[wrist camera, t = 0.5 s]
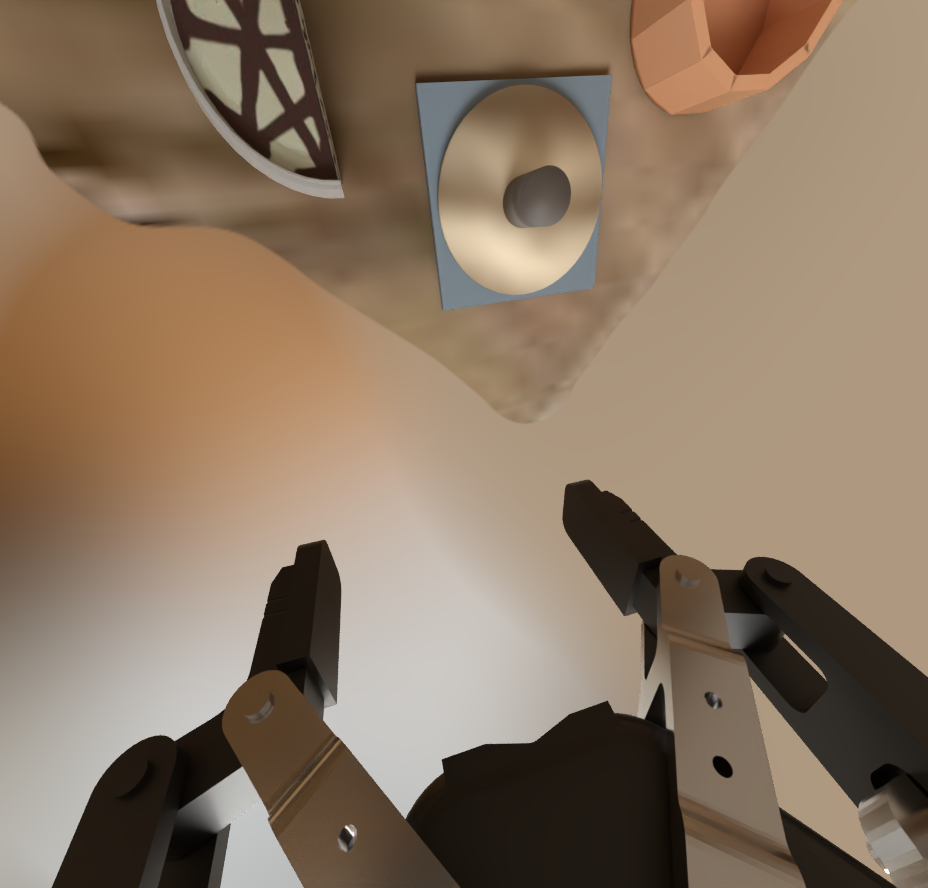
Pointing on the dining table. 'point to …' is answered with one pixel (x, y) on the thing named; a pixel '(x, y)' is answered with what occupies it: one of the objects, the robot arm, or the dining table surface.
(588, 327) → the dining table surface
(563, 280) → the mat
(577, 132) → the lid
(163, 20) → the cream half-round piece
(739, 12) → the bowl
